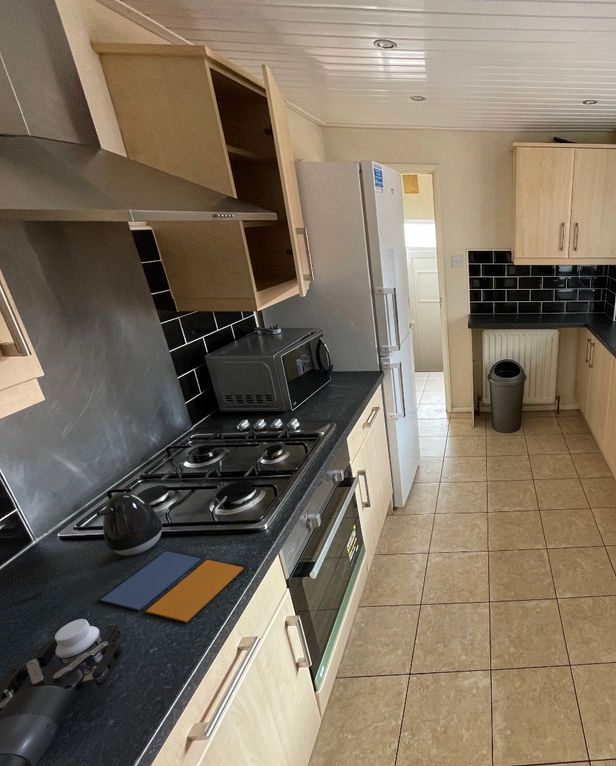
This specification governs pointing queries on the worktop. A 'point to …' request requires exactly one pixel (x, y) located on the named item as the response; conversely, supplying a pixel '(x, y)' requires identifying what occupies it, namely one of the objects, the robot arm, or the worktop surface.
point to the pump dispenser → (130, 524)
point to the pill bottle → (76, 641)
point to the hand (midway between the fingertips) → (85, 634)
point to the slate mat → (150, 580)
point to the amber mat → (195, 591)
